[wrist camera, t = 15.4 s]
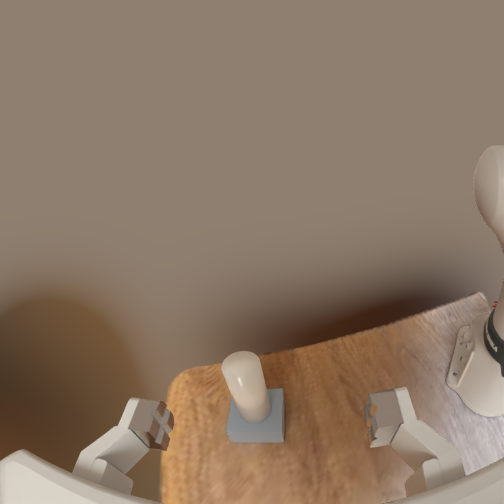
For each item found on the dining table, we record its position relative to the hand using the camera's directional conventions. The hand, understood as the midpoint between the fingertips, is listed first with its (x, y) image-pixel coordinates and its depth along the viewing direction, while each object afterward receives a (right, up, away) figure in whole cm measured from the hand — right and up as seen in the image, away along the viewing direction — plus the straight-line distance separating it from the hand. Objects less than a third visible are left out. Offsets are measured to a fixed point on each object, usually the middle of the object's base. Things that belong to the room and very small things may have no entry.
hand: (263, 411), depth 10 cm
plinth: (+1, -21, +30) cm, 37 cm away
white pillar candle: (0, -17, +29) cm, 33 cm away
